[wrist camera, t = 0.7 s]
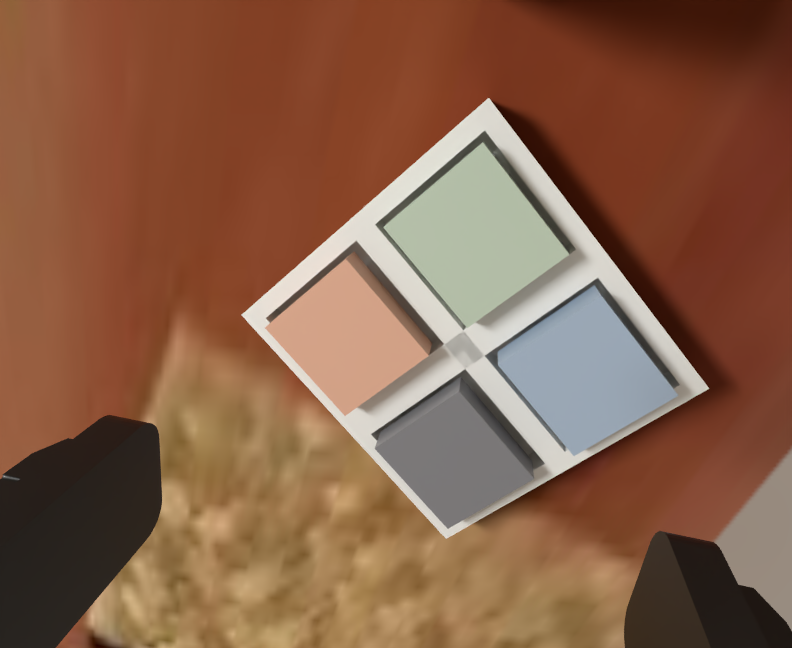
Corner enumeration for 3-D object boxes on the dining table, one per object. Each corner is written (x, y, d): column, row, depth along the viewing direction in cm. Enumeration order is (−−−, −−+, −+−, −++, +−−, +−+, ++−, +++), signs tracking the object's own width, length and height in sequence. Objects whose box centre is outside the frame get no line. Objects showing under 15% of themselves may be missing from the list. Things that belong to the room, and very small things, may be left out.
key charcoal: (460, 376, 31) (459, 391, 29) (532, 460, 32) (534, 479, 30) (380, 432, 33) (374, 448, 31) (449, 508, 34) (447, 529, 32)
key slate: (594, 285, 28) (600, 295, 27) (667, 380, 29) (678, 395, 28) (497, 351, 30) (497, 365, 28) (569, 438, 31) (573, 456, 30)
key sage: (483, 141, 27) (482, 142, 25) (564, 246, 28) (569, 254, 26) (389, 221, 29) (383, 227, 27) (468, 316, 30) (467, 328, 28)
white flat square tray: (488, 100, 28) (488, 97, 26) (691, 366, 31) (709, 388, 29) (260, 300, 34) (241, 315, 31) (449, 509, 37) (446, 538, 34)
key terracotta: (354, 251, 30) (345, 258, 28) (432, 342, 31) (428, 355, 29) (276, 316, 32) (264, 327, 30) (352, 401, 33) (345, 416, 31)
